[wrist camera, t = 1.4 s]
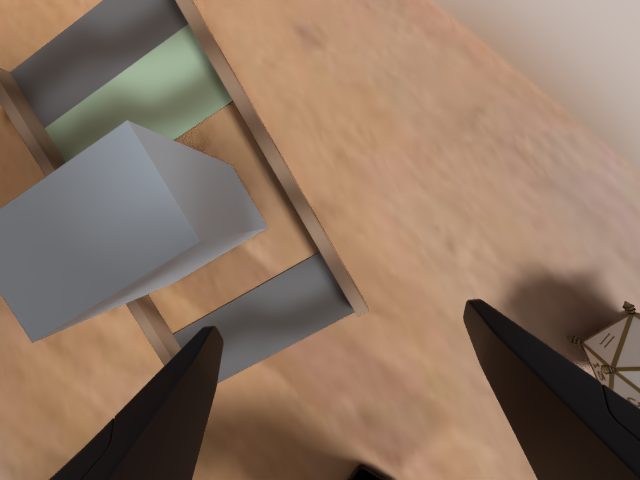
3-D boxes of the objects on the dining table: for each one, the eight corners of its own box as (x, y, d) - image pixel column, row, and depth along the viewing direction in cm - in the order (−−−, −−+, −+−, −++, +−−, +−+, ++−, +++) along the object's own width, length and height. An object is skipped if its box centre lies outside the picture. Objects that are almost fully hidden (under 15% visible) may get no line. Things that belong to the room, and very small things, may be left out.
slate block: (268, 227, 23) (200, 241, 12) (173, 283, 24) (32, 342, 13) (231, 165, 22) (127, 120, 11) (138, 224, 23) (-38, 235, 13)
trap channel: (367, 305, 23) (369, 311, 21) (197, 393, 25) (188, 404, 24) (165, -48, 21) (151, -67, 20) (2, 79, 23) (-21, 70, 22)
